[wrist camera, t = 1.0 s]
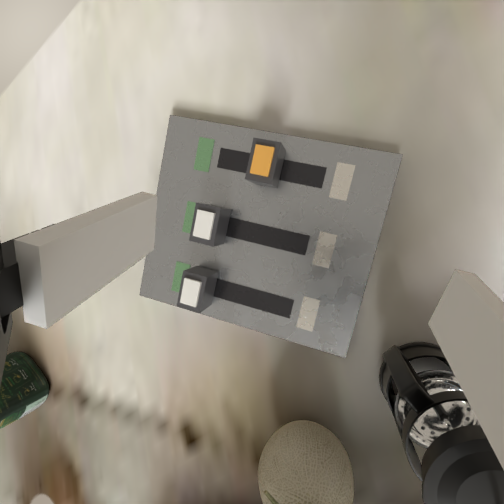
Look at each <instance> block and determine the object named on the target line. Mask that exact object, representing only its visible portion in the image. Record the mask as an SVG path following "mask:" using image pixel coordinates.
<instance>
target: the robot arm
mask: <svg viewBox="0 0 504 504" xmlns="http://www.w3.org/2000/svg"><path fill="white" fill-rule="evenodd" d="M156 210H157V195H153V194H149V193H145V192H140V193H137V194H134V195H132V196H129V197H126V198H124V199H121V200H118V201H116V202H113V203H110V204H108V205H105V206H102V207H100V208H97V209H94V210H92V211H89V212H86V213H84V214H81V215H78V216H76V217H73V218H70V219H67V220H65V221H62V222H59V223H57V224H53V225H50V226H47V227H45V228H42V229H41V230H36V231H34V232H31V233H30V234H29V233H28V234H26V235H23V236H20V237H18V238H15V239H12V240H10V241H7V242H4V243H0V386H1V381H2V376H3V370H4V365H5V360H6V355H7V349H8V344H9V339H10V334H11V329H12V323H13V322H12V315H11V312H13V311H14V310H16V309H18V308H19V307H21V306H23V313H24V321H25V322H26V323H30V324H33V325H36V326H39V327H42V328H45V329H47V328H49V327H50V326H52V325H53V324H54V323H56V322H57V321H58V320H60V319H61V318H62V317H64V316H65V315H66V314H68V313H69V312H70V311H72V310H73V309H75V308H76V307H77V306H79V305H80V304H81V303H83V302H84V301H85V300H87V299H88V298H89V297H91V296H92V295H93V294H95V293H96V292H98V291H99V290H100V289H102V288H103V287H104V286H106V285H107V284H108V283H110V282H111V281H112V280H114V279H115V278H116V277H118V276H119V275H120V274H122V273H123V272H125V271H126V270H127V269H129V268H130V267H131V266H133V265H134V264H135V263H137V262H138V261H139V260H141V259H142V258H143V257H145V256H146V255H148V254H149V253H150V252H152V251H153V250H154V241H155V226H156ZM428 325H429V327H430V329H431V331H432V332H433V334H434V336H435V338H436V340H437V342H438V344H439V346H440V348H441V350H442V352H443V354H444V356H445V358H446V360H447V361H448V363H449V365H450V367H451V369H452V371H453V373H454V375H455V377H456V379H457V381H458V383H459V385H460V387H461V389H462V391H463V392H464V394H465V396H466V398H467V400H468V402H469V404H470V406H471V408H472V410H473V412H474V414H475V416H476V418H477V420H478V421H479V423H480V425H481V427H482V429H483V431H484V433H485V435H486V437H487V439H488V441H489V443H490V445H491V447H492V449H493V450H494V452H495V454H496V456H497V458H498V460H499V462H500V464H501V466H502V468H503V470H504V302H503V301H502V300H501V299H500V298H499V297H498V296H497V295H496V294H495V293H494V292H493V291H492V290H491V289H490V288H489V287H488V286H487V285H486V284H485V283H484V282H483V281H482V280H481V279H480V278H479V277H478V276H477V275H476V274H473V273H469V272H465V271H461V270H457V269H455V271H454V273H453V275H452V277H451V279H450V281H449V283H448V285H447V287H446V289H445V291H444V293H443V295H442V297H441V299H440V301H439V303H438V305H437V307H436V309H435V310H434V312H433V314H432V316H431V318H430V320H429V322H428Z"/></svg>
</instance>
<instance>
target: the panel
mask: <svg viewBox="0 0 504 504" xmlns="http://www.w3.org/2000/svg"><path fill="white" fill-rule="evenodd" d="M253 138H260V139H266V140H271V141H277V142H281V143H282V145H283V146H284V148H285V150H286V153H285V157H284V162H283V166H282V170H281V175H280V179H279V184H278V188H274V187H269V186H264V185H259V184H254V183H252V182H250V181H248V180H246V179H245V176H246V171H247V166H248V162H249V157H250V152H251V147H252V142H253ZM401 159H402V154H396V153H390V152H385V151H379V150H373V149H367V148H361V147H355V146H350V145H344V144H338V143H332V142H326V141H320V140H314V139H309V138H303V137H297V136H291V135H285V134H279V133H273V132H268V131H262V130H256V129H250V128H244V127H238V126H233V125H227V124H221V123H215V122H209V121H203V120H197V119H192V118H186V117H180V116H174V115H170V118H169V124H168V130H167V136H166V142H165V148H164V154H163V159H162V165H161V171H160V177H159V183H158V189H157V210H156V226H155V241H154V250H153V251H152V252H150V253H149V254H148V255H146V260H145V266H144V271H143V277H142V283H141V289H140V295H141V296H144V297H147V298H151V299H154V300H157V301H160V302H164V303H167V304H170V305H173V306H177V301H178V295H179V290H180V285H181V280H182V274H183V270H186V269H189V268H192V267H195V266H200V267H203V268H207V269H211V270H214V271H218V277H217V282H216V287H215V292H214V297H213V301H212V305H210V306H209V307H208V308H206V309H205V310H204V311H202V312H201V313H200V314H203V315H206V316H209V317H213V318H216V319H219V320H222V321H226V322H229V323H232V324H236V325H239V326H242V327H245V328H249V329H252V330H255V331H258V332H262V333H265V334H268V335H271V336H275V337H278V338H281V339H285V340H288V341H291V342H294V343H298V344H301V345H304V346H307V347H311V348H314V349H317V350H321V351H324V352H327V353H330V354H334V355H337V356H340V357H343V358H346V355H347V351H348V348H349V344H350V340H351V337H352V333H353V330H354V326H355V323H356V319H357V315H358V312H359V308H360V305H361V301H362V298H363V294H364V291H365V287H366V283H367V280H368V276H369V273H370V269H371V266H372V262H373V259H374V255H375V251H376V248H377V244H378V241H379V237H380V234H381V230H382V226H383V223H384V219H385V216H386V212H387V209H388V205H389V202H390V198H391V194H392V191H393V187H394V184H395V180H396V177H397V173H398V170H399V166H400V162H401ZM196 203H204V204H210V205H215V206H219V207H223V208H228V209H231V214H230V219H229V224H228V229H227V234H226V238H225V243H224V244H223V245H218V246H214V247H212V246H208V245H204V244H200V243H197V242H193V241H189V237H190V232H191V227H192V221H193V216H194V211H195V205H196ZM180 308H181V307H180ZM183 309H184V308H183ZM193 312H194V311H193ZM196 313H197V312H196Z"/></svg>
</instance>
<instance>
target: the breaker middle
mask: <svg viewBox="0 0 504 504" xmlns="http://www.w3.org/2000/svg"><path fill="white" fill-rule="evenodd" d="M230 214H231V209H228V208H223V207H219V206H215V205H210V204H204V203H196V205H195V211H194V216H193V221H192V227H191V232H190V237H189V241H193V242H197V243H200V244H204V245H208V246H212V247H214V246H218V245H223V244H224V243H225V238H226V234H227V229H228V224H229V219H230Z"/></svg>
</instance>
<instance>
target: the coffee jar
mask: <svg viewBox="0 0 504 504" xmlns="http://www.w3.org/2000/svg"><path fill="white" fill-rule="evenodd" d="M48 394H49V384H48V382H47V380H46V378H45V376H44V375H43V373H42V372H41V370H40V369H39V367H38V366H37V365H36V364H35V362H34V361H33V360H32V359H31V358H30V357H29V356H28V355H27V354H25V353H23V352H13V353H11V354H9V355H7V356H6V360H5V365H4V370H3V376H2V381H1V386H0V429H1V428H3V427H5V426H6V425H8V424H10V423H12V422H14V421H16V420H18V419H20V418H21V417H23V416H25V415H27V414H28V413H30V412H32V411H33V410H35V409H36V408H38V407H39V406H40V405H42V404H43V403H44V401H45V400H46V399H47V397H48Z"/></svg>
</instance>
